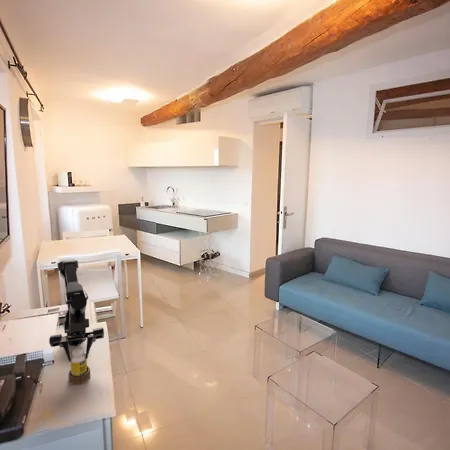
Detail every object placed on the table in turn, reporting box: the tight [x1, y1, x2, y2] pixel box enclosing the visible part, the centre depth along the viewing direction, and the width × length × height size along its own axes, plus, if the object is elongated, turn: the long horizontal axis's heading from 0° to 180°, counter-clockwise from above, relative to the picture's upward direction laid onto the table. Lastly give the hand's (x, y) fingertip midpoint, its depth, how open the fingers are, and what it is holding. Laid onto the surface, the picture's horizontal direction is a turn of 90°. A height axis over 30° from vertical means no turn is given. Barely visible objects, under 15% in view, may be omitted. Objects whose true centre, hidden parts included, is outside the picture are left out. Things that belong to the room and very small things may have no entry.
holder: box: [67, 365, 91, 386], centre depth 119 cm, size 7×7×3 cm
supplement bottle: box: [70, 347, 88, 377], centre depth 118 cm, size 5×5×10 cm
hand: (78, 360), depth 116 cm, fingers closed on supplement bottle, 5 cm apart
